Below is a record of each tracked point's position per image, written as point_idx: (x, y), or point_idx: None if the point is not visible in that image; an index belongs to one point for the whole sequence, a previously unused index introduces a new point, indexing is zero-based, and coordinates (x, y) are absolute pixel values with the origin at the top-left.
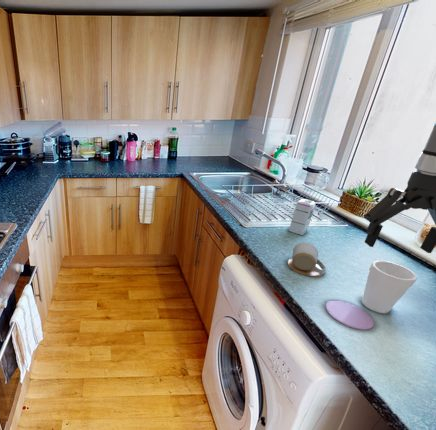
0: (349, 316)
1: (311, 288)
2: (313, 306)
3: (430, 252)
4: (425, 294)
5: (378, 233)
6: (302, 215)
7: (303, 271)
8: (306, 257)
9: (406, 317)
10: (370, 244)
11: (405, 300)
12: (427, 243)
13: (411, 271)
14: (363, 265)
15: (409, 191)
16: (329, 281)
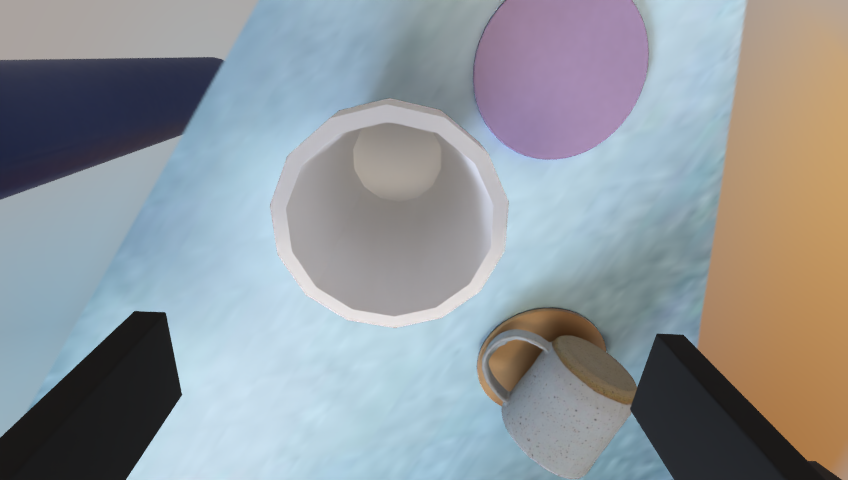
0: (572, 53)
1: (604, 230)
2: (678, 108)
3: (138, 316)
4: (132, 265)
5: (792, 477)
6: None
7: (571, 332)
8: (611, 381)
9: (306, 96)
10: (697, 354)
11: (241, 212)
12: (126, 419)
13: (279, 228)
14: (284, 410)
15: None
16: (494, 288)
